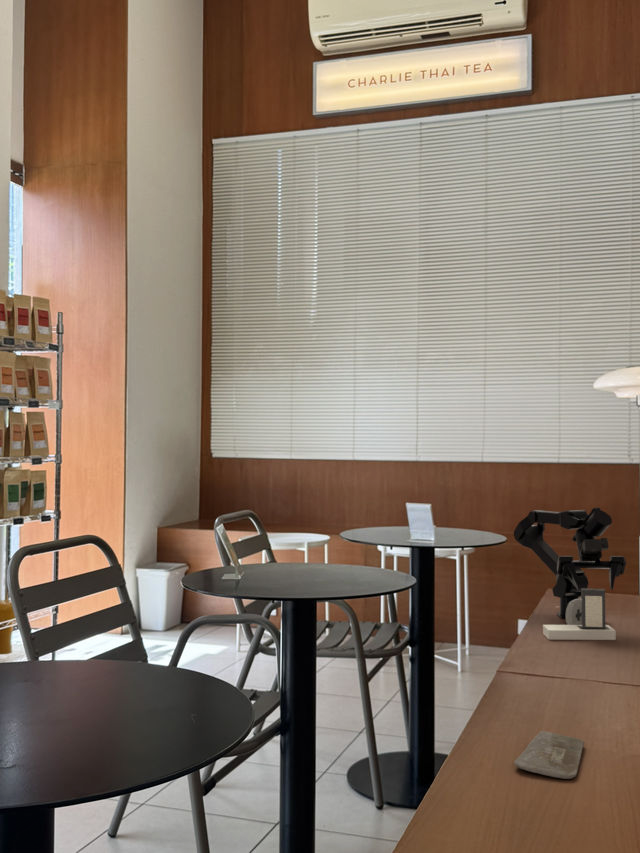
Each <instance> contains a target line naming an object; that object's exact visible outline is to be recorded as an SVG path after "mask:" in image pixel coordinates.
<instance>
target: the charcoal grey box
mask: <svg viewBox="0 0 640 853" xmlns="http://www.w3.org/2000/svg"><path fill="white" fill-rule="evenodd" d="M580 598H581V616H582V629H595V630H605V625H606V590H605V588H591V587H590V588H588V587H587V588H581V596H580Z"/></svg>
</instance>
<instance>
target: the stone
mask: <svg viewBox="0 0 640 853" xmlns="http://www.w3.org/2000/svg"><path fill="white" fill-rule="evenodd" d="M584 746H585V741H584V740H583V739H580V738H577V737H574V736H567V735H563V734H559V733H555V732H552V731H546V730H541V731H539V732H538V734H536V735H535V737H533V739H532V740H531V741H530V742H529V744H528V745H527V746H526V748H525V749H524V750H523V751H522V752H521V754H520V755H519V756H518V757H517V758H515V760H514V761H513V762H514V763H513V764H514V765H515V767H517V768H518V769H521V770H523V771H527V772H531V773H534V774H539V775H543V776H547V777H551V778H558V779H564V780H570V779H573V778H575V777H576V776H577V774H578V771H579V767H580V762H581V758H582V753H583V749H584Z"/></svg>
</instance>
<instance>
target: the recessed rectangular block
mask: <svg viewBox="0 0 640 853" xmlns="http://www.w3.org/2000/svg"><path fill="white" fill-rule="evenodd" d="M616 634H617V633H616V630H615V629H614V628H613V627H611V626H610V625H608V624H605V630H595V629H582V625H567V624H542V635H544V636H545V638H547V640H551V641H553V640H555V641H556V640H559V641H560V640H562V641H563V640H566V641H567V640H575V641H576V640H577V641H578V640H582V641H586V640H587V641H592V640H593V641H594V640H595V641H598V640H599V641H616V640H617V639H616V638H617V636H616Z"/></svg>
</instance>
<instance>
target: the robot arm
mask: <svg viewBox="0 0 640 853" xmlns="http://www.w3.org/2000/svg"><path fill="white" fill-rule="evenodd" d="M612 523H613V518H612V517H611V515H610V514H608V513H607V512H606V511H604V510H601V508H600V507H593V508H592V509H591V511H590V513H589V514H588V512H587V510H585V509H577V510H572V509H571V510H570V509H569V510H565V511H563V510H562V511H551V510H550V511H549V510H543V509H537V510H535V509H534V510H531V511H529V512H528V514H527V516H525V517H524V518H523V519H522V520H520V521H519V522H518V524H517V525H516V527H515V529H514V530H513V537H514V539H515V541H516V543H519V545H521V546H522V547H525V548H527V549H530V550H531V551H533V553H534V554H535V555H536V556H537V557H538V558H539V559H540V560H541V562H542V563H543V564H544V565H545V566H546V567H547V568H548V569H549V570H550V571H551V572H552V574H554V576H555V585H554V587H552V589H551V590H552V594H553V597H556V598H559V611H557V612H556V615H557V616H558V617H559V618H561V619H566V609H567V606H568V604H569V602H570V601H572V600H574V599H578V598H581V588H588V587H589V579H588V577H587V575H586V572H585V571H583V570H582V569H590V570H591V569H592V570H593V569H597V570H598V569H602V570H603V569H604V570H608V580H609V581H608V582H609V588H610V590H611V591H613V590H614V584H615V580H616V578H618V577H620V576H622V575H623V574H624V572H625V569H626V565H627V562H626V558H625V557H624V556H623V555H610V557H609V560H601V559H602V557H603V554H602V551H608V549H609V541H608V538H607V537H601V536H602V535H603V534H604V533H605V532H606V530H608V528H609V527H610V526H611V525H612ZM545 524H552V525H558V526H560V527H561V528H563V529H565V530H576V531H575V532H574V535H573V536H572V538H571V541H572V542H575V543H576V546H577V547H576V548H577V552H578V553H577V554H578V558H579V560H578V559H577V560H574V558H573V556H572V555H559V554H558V553H557V552H556V551H555V550H554V549H553V548H552V547H551V546H550V545H549V544H548V543H547V541H545V539H544V531H545V529H546V527H545ZM597 537H601V538H598V539H597Z"/></svg>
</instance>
